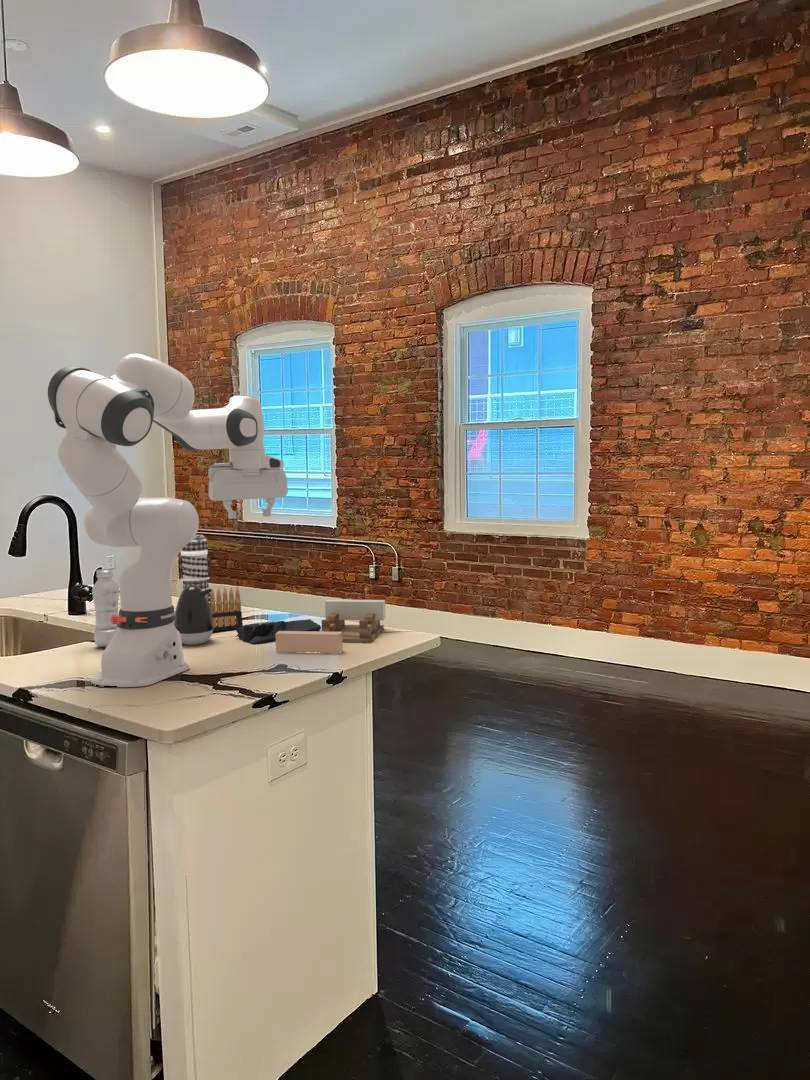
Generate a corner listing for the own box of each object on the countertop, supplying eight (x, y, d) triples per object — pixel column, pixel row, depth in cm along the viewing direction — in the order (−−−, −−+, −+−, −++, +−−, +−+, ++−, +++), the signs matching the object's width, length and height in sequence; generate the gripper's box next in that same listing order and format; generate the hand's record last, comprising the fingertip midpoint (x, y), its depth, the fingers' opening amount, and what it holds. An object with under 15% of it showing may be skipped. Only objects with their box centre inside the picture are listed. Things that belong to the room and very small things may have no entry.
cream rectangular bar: (385, 618, 216) (385, 600, 215) (383, 620, 213) (382, 601, 212) (328, 617, 219) (327, 599, 218) (325, 619, 216) (325, 601, 215)
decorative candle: (176, 617, 243) (172, 535, 241) (203, 612, 249) (199, 533, 247) (190, 621, 236) (186, 537, 234) (218, 616, 243) (214, 534, 240)
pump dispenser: (205, 648, 201) (202, 588, 199) (167, 647, 203) (164, 588, 201) (222, 639, 211) (219, 582, 209) (185, 638, 213) (183, 582, 211)
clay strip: (342, 651, 194) (342, 631, 194) (339, 654, 191) (339, 634, 191) (280, 650, 197) (279, 630, 197) (276, 653, 194) (275, 633, 194)
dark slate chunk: (328, 636, 213) (327, 618, 213) (249, 647, 203) (248, 628, 202) (306, 626, 227) (305, 610, 226) (230, 636, 216) (230, 619, 215)
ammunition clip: (241, 627, 225) (239, 585, 224) (243, 628, 224) (241, 586, 222) (203, 631, 221) (201, 588, 220) (204, 632, 219) (202, 589, 218)
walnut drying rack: (370, 642, 202) (370, 621, 202) (317, 641, 205) (316, 620, 204) (384, 628, 219) (383, 609, 218) (334, 628, 221) (334, 608, 221)
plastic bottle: (94, 645, 206) (90, 569, 205) (122, 642, 209) (117, 567, 207) (94, 650, 200) (89, 572, 199) (122, 648, 203) (118, 570, 201)
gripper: (212, 462, 190) (215, 520, 191) (289, 461, 202) (291, 515, 203) (202, 463, 195) (205, 519, 196) (278, 461, 207) (280, 514, 208)
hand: (250, 517), depth 200 cm, fingers open, 8 cm apart
